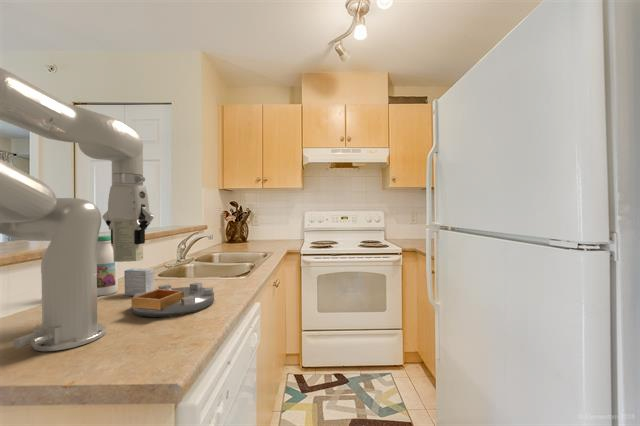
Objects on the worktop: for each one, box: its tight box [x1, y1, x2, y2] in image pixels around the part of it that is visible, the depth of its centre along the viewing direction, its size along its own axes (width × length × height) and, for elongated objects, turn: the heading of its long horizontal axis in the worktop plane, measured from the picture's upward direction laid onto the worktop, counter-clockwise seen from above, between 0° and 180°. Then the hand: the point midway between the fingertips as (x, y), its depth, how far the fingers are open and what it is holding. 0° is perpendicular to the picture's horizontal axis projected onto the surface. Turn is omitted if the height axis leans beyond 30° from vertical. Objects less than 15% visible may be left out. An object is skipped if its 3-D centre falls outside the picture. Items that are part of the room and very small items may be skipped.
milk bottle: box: [96, 235, 119, 297], centre depth 104 cm, size 8×8×20 cm
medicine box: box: [123, 267, 155, 296], centre depth 103 cm, size 8×4×9 cm, turn 84°
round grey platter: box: [131, 282, 215, 318], centre depth 90 cm, size 22×22×5 cm
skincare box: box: [112, 218, 144, 263], centre depth 85 cm, size 6×4×12 cm
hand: (128, 243), depth 85 cm, fingers closed on skincare box, 7 cm apart
